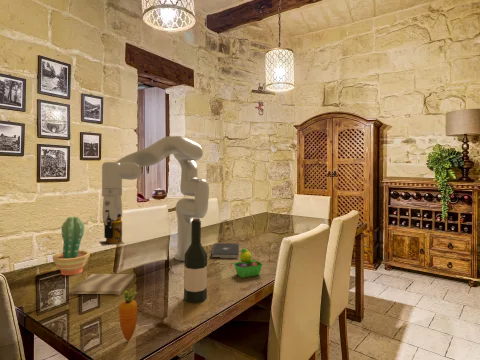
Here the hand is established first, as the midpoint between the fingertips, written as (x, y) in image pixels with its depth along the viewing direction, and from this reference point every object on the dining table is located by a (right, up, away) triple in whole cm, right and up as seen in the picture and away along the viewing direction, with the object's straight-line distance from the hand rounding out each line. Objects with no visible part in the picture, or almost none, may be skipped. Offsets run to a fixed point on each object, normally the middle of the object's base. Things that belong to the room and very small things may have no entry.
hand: (111, 235), depth 129 cm
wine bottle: (+36, -22, -12) cm, 44 cm away
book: (+44, -19, +49) cm, 69 cm away
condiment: (0, -3, 0) cm, 3 cm away
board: (-2, -20, -1) cm, 20 cm away
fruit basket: (+56, -21, +15) cm, 62 cm away
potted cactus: (-24, -19, +14) cm, 34 cm away
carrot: (+21, -23, -40) cm, 51 cm away
